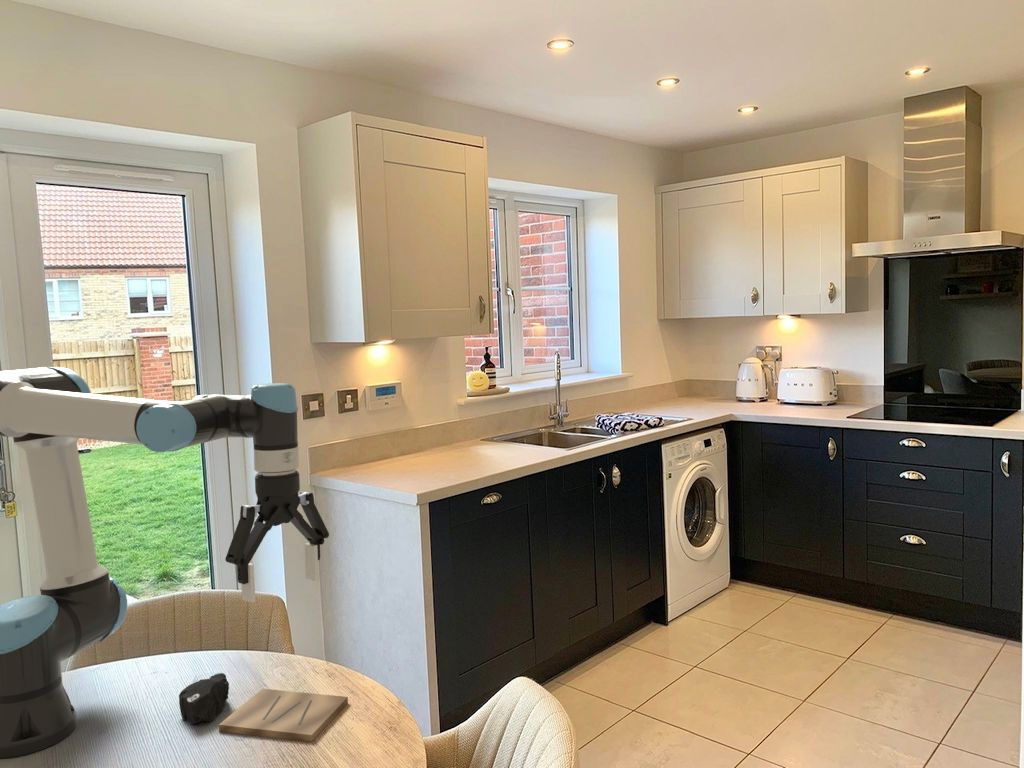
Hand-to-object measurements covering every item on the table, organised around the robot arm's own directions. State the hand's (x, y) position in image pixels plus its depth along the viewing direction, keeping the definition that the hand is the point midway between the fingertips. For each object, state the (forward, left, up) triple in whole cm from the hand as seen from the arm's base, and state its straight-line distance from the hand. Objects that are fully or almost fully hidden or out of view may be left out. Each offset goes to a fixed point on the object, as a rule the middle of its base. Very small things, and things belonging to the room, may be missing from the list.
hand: (281, 589), depth 140 cm
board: (-1, +2, -24) cm, 24 cm away
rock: (-17, +1, -25) cm, 30 cm away
